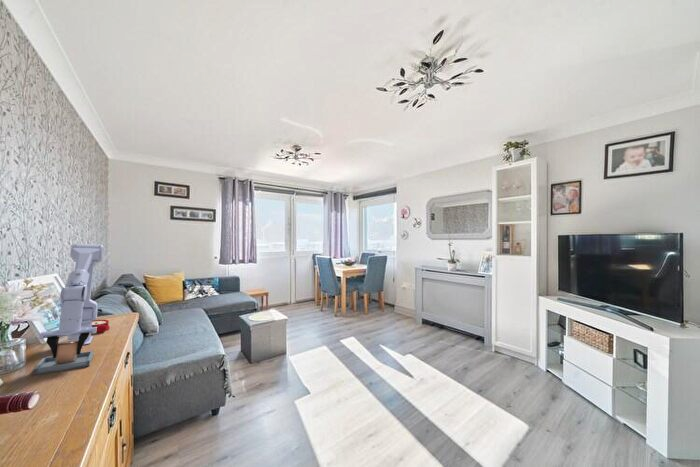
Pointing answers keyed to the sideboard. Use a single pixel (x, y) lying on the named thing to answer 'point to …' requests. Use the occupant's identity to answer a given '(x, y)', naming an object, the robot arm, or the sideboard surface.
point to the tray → (50, 366)
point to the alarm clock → (101, 325)
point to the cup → (66, 351)
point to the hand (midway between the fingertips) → (66, 355)
